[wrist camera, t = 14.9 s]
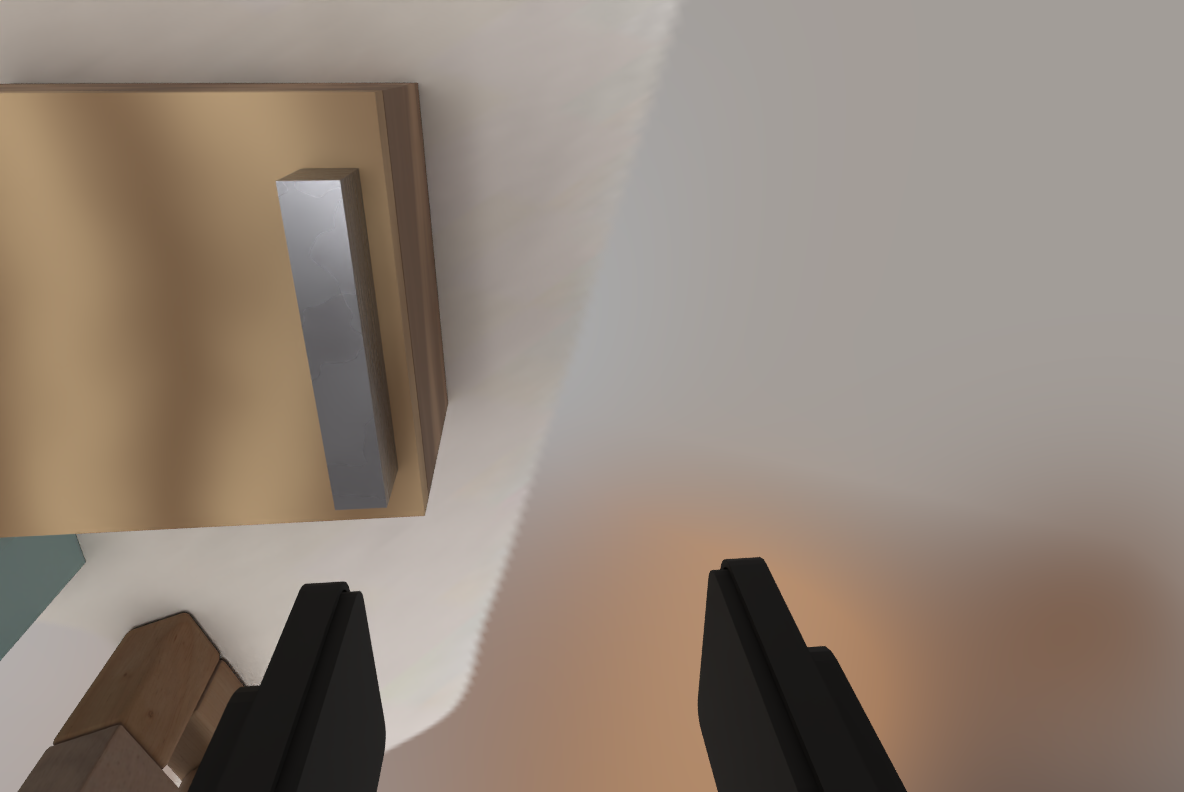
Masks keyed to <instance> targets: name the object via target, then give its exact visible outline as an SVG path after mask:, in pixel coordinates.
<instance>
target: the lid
mask: <svg viewBox="0 0 1184 792" xmlns="http://www.w3.org/2000/svg"><path fill="white" fill-rule="evenodd" d="M428 498H429V497H428V488H427V479H426V470H425V461H424V453H423V444H422V435H421V426H420V417H419V409H418V400H417V391H416V382H415V374H414V365H413V356H412V347H411V338H410V330H409V321H408V312H407V303H406V294H405V286H404V277H403V268H402V259H401V250H400V242H399V233H398V224H397V215H396V207H395V198H394V189H393V180H392V171H391V163H390V154H389V145H388V136H387V127H386V119H385V110H384V101H383V92H382V90H351V91H0V538H4V537H24V536H43V535H62V534H82V533H101V532H120V531H140V530H159V529H178V528H198V527H217V526H236V525H256V524H275V523H294V522H314V521H333V520H352V519H372V518H391V517H410V516H425V512H426V507H427V503H428Z"/></svg>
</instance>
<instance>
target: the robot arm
mask: <svg viewBox="0 0 1184 792" xmlns="http://www.w3.org/2000/svg"><path fill="white" fill-rule="evenodd" d="M698 716H699V722H700V727H701V731H702V735H703V738H704V742H705V746H706V750H707V753H708V757H709V761H710V764H711V768H712V772H713V775H714V779H715V782H716V786H717V790H718V792H907V791H906V789H905V787H904V785H903V783H902V781H901V779H900V778H899V776H898V774H897V772H896V770H895V768H894V766H893V764H892V763H891V761H890V759H889V757H888V755H887V753H886V752H885V749H884V747H883V746H882V744H881V742H880V740H879V738H878V736H877V734H876V733H875V731H874V729H873V727H872V725H871V723H870V721H869V719H868V717H867V716H866V714H865V712H864V710H863V708H862V706H861V704H860V702H859V700H858V699H857V697H856V695H855V693H854V691H853V689H852V687H851V685H850V683H849V682H848V680H847V678H846V676H845V674H844V672H843V670H842V668H841V667H840V665H839V663H838V661H837V659H836V658H835V656H834V655H833V653H832V652H831V650H829V649H828V648H827V647H825V646H820V647H807V646H806V644H805V642H804V640H803V638H802V635H801V633H800V631H799V629H798V627H797V625H796V623H795V621H794V619H793V617H792V615H791V613H790V611H789V609H788V607H787V605H786V603H785V601H784V599H783V597H782V595H781V593H780V591H779V589H778V587H777V585H776V583H775V581H774V579H773V577H772V574H771V572H770V571H769V568H768V567H767V564H766V563H765V561H764V559H762V558H761V557H755V558H739V559H725V560H723V561H722V564H721V569H720V570H712V571H710V573H709V578H708V590H707V601H706V612H705V623H704V635H703V646H702V658H701V669H700V681H699V692H698ZM385 739H386V730H385V721H384V715H383V709H382V703H381V698H380V692H379V686H378V680H377V674H376V668H375V663H374V657H373V651H372V645H371V639H370V633H369V628H368V622H367V616H366V610H365V604H364V599H363V595H362V593H361V592H360V591H354V592H350V590H349V586H348V584H347V582H328V583H311V584H304V585H303V586H302V587H301V589H300V591H299V593H298V596H297V598H296V600H295V603H294V605H293V608H292V610H291V612H290V615H289V617H288V620H287V622H286V624H285V627H284V629H283V632H282V634H281V637H280V639H279V641H278V644H277V646H276V649H275V651H274V653H273V656H272V658H271V661H270V663H269V665H268V668H267V670H266V673H265V675H264V677H263V680H262V682H261V685H260V686H245V687H239V688H238V689H237V690H236V691H235V692H234V693H233V695H232V696H231V698H230V700H229V702H228V703H227V706H226V708H225V710H224V712H223V714H222V717H221V719H220V721H219V723H218V725H217V728H216V730H215V732H214V734H213V736H212V739H211V741H210V743H209V745H208V747H207V750H206V752H205V754H204V756H203V758H202V761H201V763H200V765H199V767H198V769H197V772H196V774H195V776H194V778H193V780H192V783H191V785H190V787H189V789H188V791H187V792H377V787H378V782H379V777H380V772H381V767H382V762H383V756H384V750H385Z"/></svg>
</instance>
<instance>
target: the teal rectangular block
mask: <svg viewBox="0 0 1184 792" xmlns="http://www.w3.org/2000/svg"><path fill="white" fill-rule="evenodd" d="M84 563H85V559H84V556H83V554H82V551H81V548H80V545H79V543H78V540H77V537H76V535H75V534H62V535H43V536H24V537H4V538H0V661H1V659H2V658H3V657H4V656H5V655H6V654H7V652H8V651H9V650H10V649H11V648H12V647H13V646H14V644H15V643H16V642H17V641H18V640H19V639H20V637H21V636H22V635H23V634H24V633H25V632H26V631H27V629H28V628H29V627H30V626H31V625H32V624H33V622H34V621H35V620H36V619H37V618H38V617H39V616H40V614H41V613H42V612H43V611H44V610H45V609H46V607H47V606H48V605H49V604H50V603H51V602H52V600H53V599H54V598H55V597H56V596H57V595H58V594H59V592H60V591H61V590H62V589H63V588H64V587H65V585H66V584H67V583H68V582H69V581H70V580H71V579H72V577H73V576H74V575H75V574H76V573H77V572H78V570H79V569H80V568H81V567H82V566H83V565H84Z"/></svg>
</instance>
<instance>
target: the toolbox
mask: <svg viewBox="0 0 1184 792" xmlns="http://www.w3.org/2000/svg"><path fill="white" fill-rule="evenodd" d="M351 90H382V92H383V101H384V110H385V119H386V127H387V136H388V145H389V154H390V163H391V171H392V180H393V189H394V198H395V207H396V215H397V224H398V233H399V242H400V250H401V259H402V268H403V277H404V286H405V294H406V303H407V312H408V321H409V330H410V338H411V347H412V356H413V365H414V374H415V382H416V391H417V400H418V409H419V417H420V426H421V435H422V444H423V453H424V461H425V470H426V479H427V488H428V496H429V493H430V488H431V483H432V479H433V474H434V469H435V464H436V459H437V454H438V450H439V445H440V440H441V435H442V430H443V425H444V421H445V416H446V411H447V406H448V399H447V388H446V377H445V367H444V356H443V345H442V335H441V324H440V314H439V303H438V292H437V282H436V271H435V260H434V250H433V239H432V228H431V218H430V207H429V197H428V186H427V175H426V165H425V154H424V143H423V133H422V122H421V111H420V101H419V90H418V83H79V84H0V91H351Z"/></svg>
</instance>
